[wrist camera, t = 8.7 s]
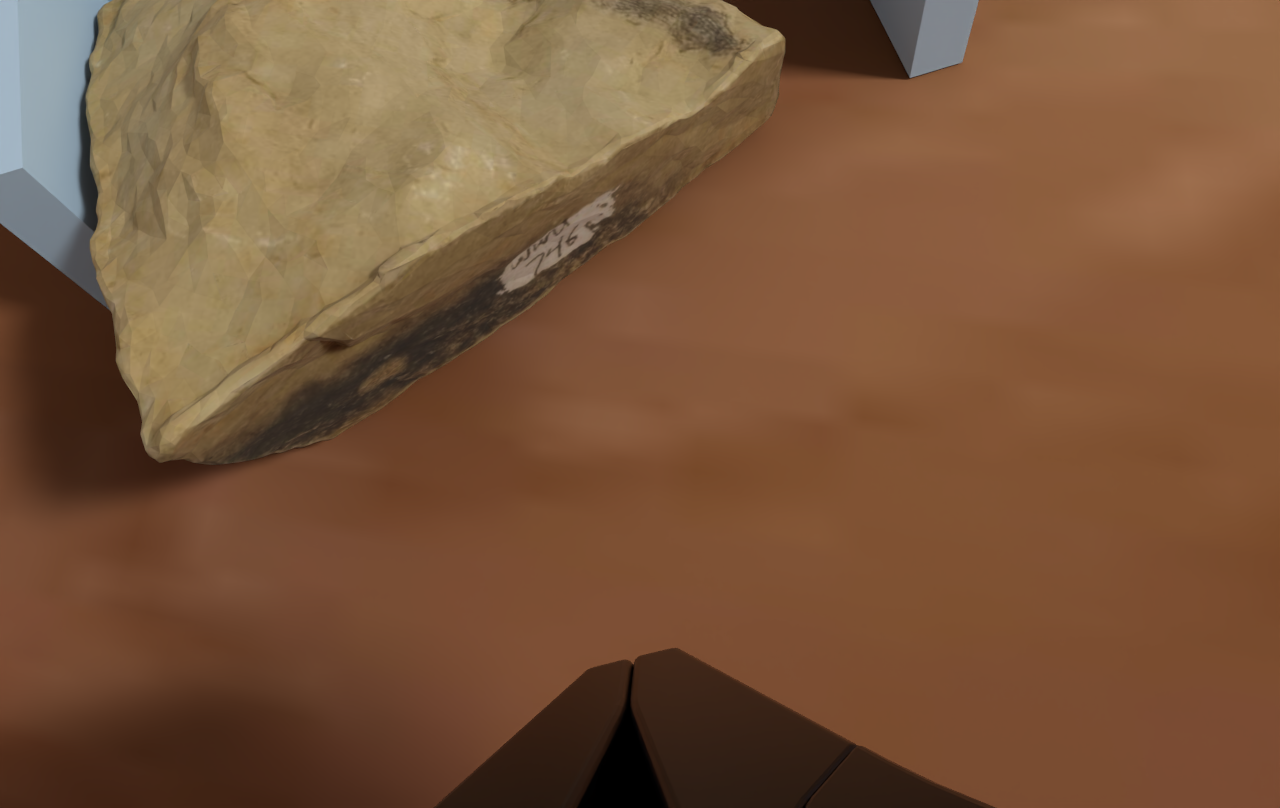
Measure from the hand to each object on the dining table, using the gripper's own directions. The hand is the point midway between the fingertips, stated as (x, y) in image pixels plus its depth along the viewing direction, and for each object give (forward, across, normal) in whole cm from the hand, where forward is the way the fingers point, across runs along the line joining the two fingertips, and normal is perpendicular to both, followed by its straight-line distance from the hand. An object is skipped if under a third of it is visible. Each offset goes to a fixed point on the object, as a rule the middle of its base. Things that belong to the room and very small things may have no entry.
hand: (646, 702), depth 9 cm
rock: (+8, 0, +3) cm, 8 cm away
